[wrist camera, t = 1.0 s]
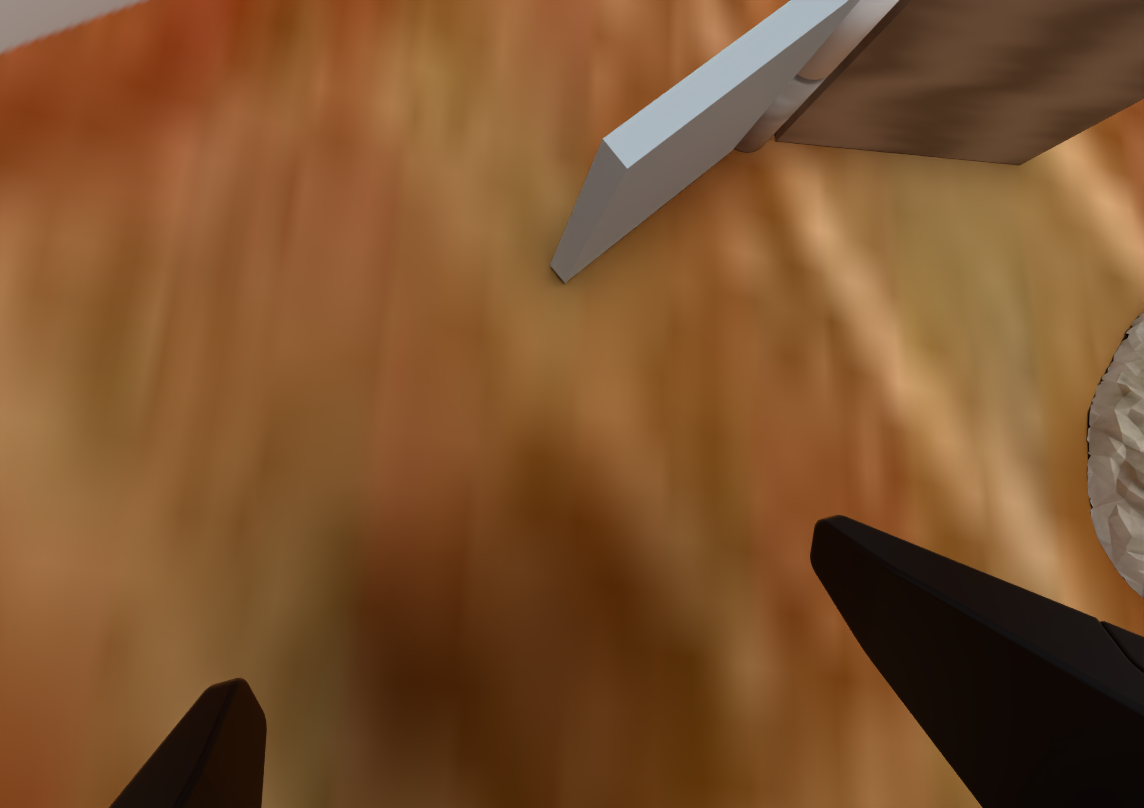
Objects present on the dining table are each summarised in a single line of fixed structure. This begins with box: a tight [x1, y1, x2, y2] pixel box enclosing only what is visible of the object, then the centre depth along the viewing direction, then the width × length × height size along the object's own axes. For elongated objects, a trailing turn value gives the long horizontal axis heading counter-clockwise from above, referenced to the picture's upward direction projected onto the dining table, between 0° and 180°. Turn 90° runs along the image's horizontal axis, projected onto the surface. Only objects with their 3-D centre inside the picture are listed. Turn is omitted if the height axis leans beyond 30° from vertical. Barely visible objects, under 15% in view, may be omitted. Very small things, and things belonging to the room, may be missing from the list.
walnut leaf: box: [735, 0, 1144, 165], centre depth 23 cm, size 17×2×10 cm, turn 91°
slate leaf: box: [550, 0, 899, 283], centre depth 21 cm, size 13×2×10 cm, turn 131°
